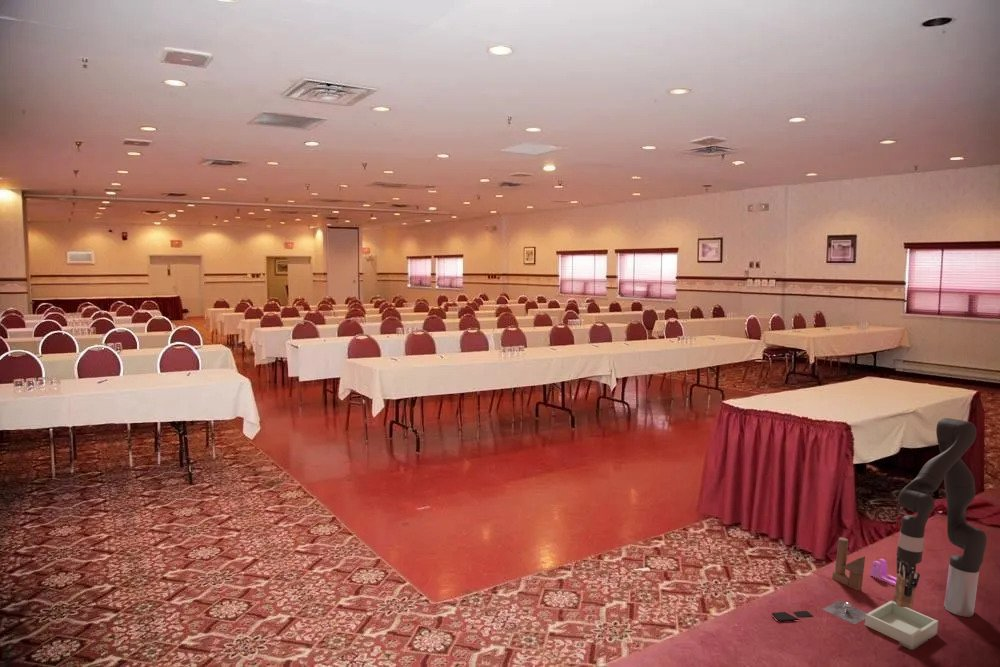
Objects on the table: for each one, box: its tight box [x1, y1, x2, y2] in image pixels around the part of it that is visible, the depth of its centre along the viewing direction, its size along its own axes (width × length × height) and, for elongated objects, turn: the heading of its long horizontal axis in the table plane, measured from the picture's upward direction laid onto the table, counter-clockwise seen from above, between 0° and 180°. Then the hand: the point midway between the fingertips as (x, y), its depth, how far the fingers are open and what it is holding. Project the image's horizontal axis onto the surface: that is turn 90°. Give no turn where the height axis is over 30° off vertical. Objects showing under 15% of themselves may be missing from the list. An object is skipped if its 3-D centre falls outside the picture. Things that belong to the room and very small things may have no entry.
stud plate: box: [822, 600, 868, 625], centre depth 250 cm, size 12×12×5 cm
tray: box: [864, 600, 939, 651], centre depth 240 cm, size 18×16×5 cm
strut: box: [893, 572, 916, 609], centre depth 239 cm, size 4×4×10 cm
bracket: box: [869, 558, 897, 587], centre depth 277 cm, size 13×6×7 cm, turn 33°
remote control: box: [771, 610, 814, 622], centre depth 247 cm, size 5×2×15 cm
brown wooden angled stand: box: [831, 536, 866, 592], centre depth 271 cm, size 4×11×18 cm, turn 26°
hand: (904, 592), depth 239 cm, fingers closed on strut, 4 cm apart
